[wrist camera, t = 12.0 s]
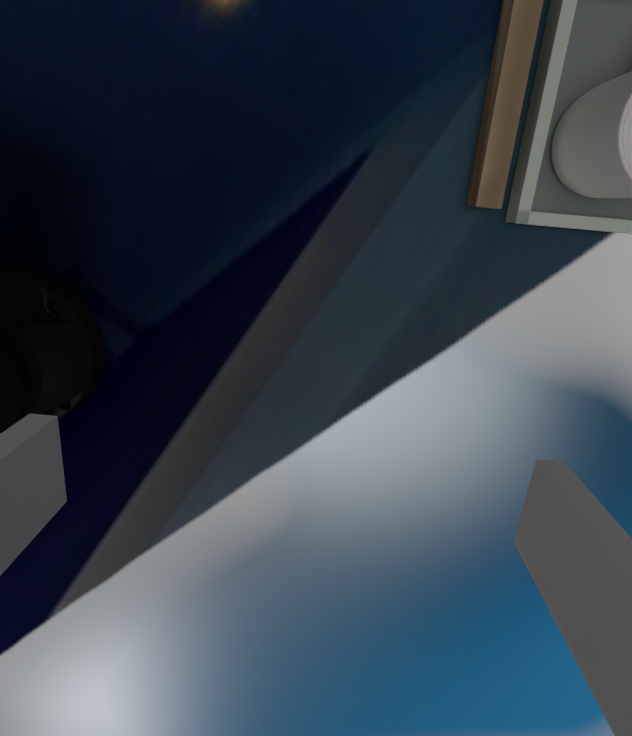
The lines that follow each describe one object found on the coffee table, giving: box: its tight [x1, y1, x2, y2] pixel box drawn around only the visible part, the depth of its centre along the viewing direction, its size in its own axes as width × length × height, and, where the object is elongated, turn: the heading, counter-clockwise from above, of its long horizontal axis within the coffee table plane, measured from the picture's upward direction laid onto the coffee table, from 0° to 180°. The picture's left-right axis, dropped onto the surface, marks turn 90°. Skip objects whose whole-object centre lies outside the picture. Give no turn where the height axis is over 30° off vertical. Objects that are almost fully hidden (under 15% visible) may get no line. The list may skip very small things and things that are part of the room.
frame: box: [505, 0, 632, 234], centre depth 37 cm, size 13×17×2 cm
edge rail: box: [466, 0, 544, 209], centre depth 36 cm, size 2×15×3 cm, turn 175°
